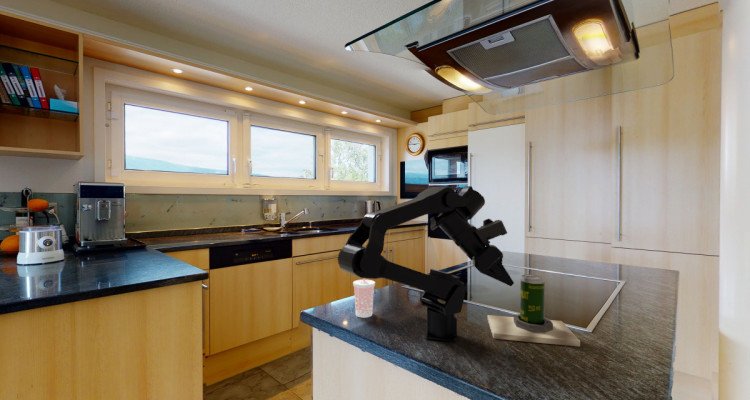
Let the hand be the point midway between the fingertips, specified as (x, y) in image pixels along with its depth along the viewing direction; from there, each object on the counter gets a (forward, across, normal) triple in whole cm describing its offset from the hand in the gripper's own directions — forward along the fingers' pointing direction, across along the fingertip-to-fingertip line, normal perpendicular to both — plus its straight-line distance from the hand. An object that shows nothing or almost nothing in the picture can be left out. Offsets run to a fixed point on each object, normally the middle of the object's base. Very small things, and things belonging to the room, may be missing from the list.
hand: (507, 279), depth 77 cm
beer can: (+14, +5, +4) cm, 15 cm away
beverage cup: (-15, +8, +35) cm, 39 cm away
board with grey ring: (+14, +4, +5) cm, 15 cm away
